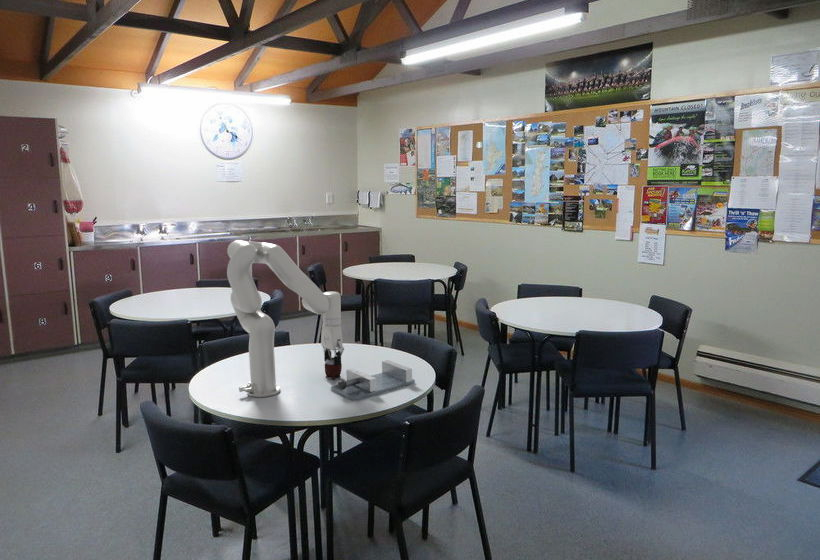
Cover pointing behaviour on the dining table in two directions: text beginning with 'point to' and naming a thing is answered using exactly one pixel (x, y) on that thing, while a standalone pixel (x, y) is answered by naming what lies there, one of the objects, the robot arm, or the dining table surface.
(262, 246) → the robot arm
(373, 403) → the dining table surface
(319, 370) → the dining table surface
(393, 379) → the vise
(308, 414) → the dining table surface
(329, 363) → the mate gourd
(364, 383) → the vise jaw
